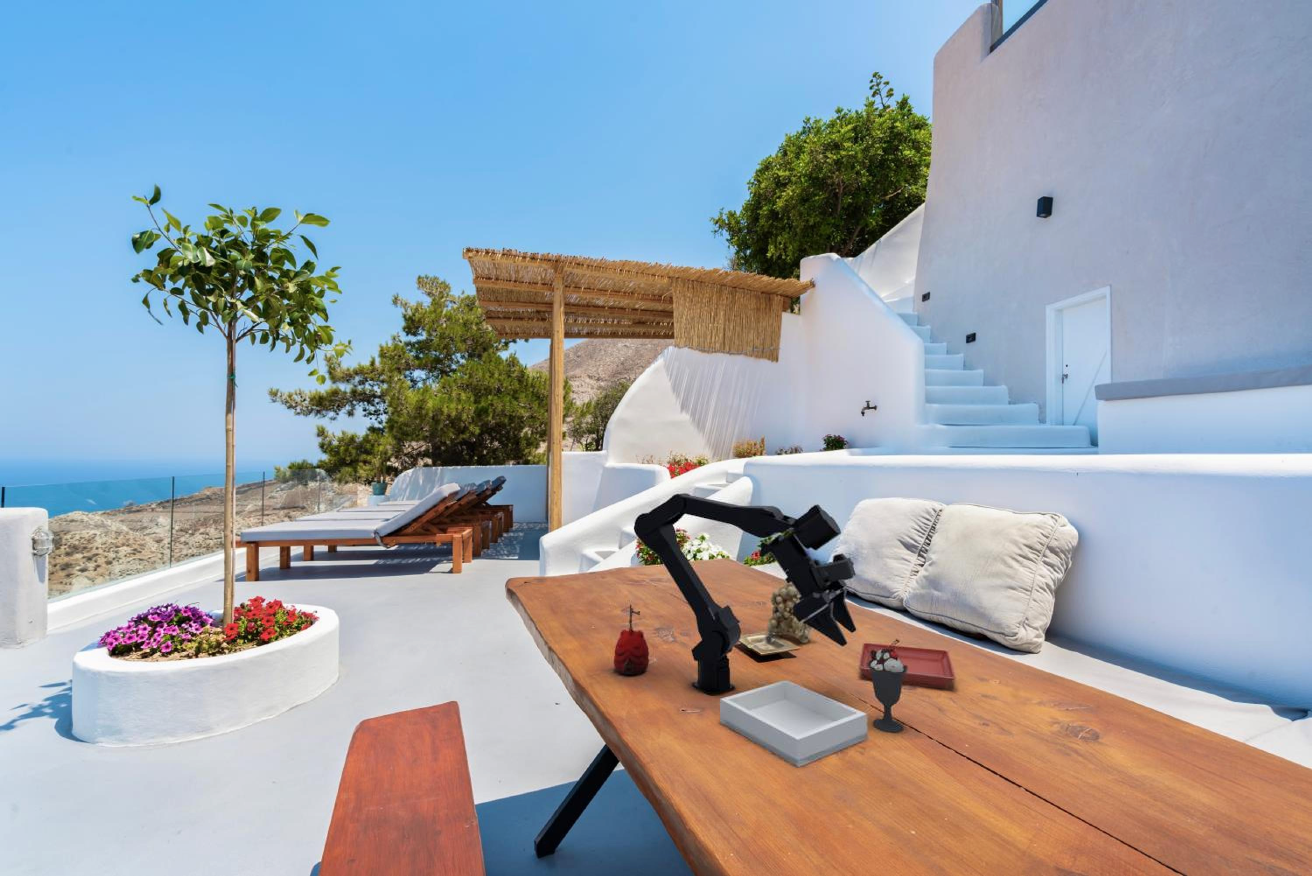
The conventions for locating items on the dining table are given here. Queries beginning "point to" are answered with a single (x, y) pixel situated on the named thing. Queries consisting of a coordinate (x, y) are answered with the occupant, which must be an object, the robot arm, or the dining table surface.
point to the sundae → (887, 684)
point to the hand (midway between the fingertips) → (849, 638)
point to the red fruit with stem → (631, 651)
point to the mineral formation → (787, 613)
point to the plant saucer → (915, 664)
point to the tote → (793, 721)
